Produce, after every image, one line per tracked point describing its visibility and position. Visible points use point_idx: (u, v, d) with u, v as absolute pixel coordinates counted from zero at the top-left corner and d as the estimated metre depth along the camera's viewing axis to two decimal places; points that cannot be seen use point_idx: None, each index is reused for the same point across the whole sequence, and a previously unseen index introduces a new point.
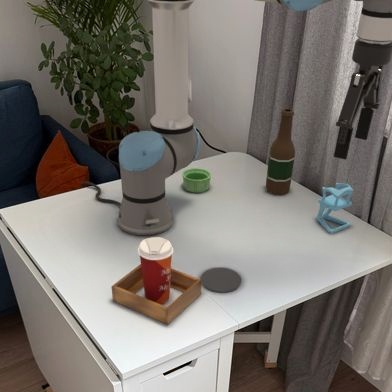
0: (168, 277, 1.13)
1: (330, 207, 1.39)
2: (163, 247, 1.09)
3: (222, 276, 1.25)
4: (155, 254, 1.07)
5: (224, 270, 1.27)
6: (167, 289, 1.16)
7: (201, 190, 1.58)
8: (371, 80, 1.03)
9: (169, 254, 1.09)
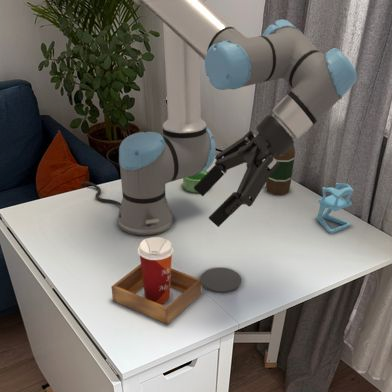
0: (168, 277, 1.13)
1: (330, 207, 1.39)
2: (163, 247, 1.09)
3: (222, 276, 1.25)
4: (155, 254, 1.07)
5: (224, 270, 1.27)
6: (167, 289, 1.16)
7: None
8: None
9: (169, 254, 1.09)
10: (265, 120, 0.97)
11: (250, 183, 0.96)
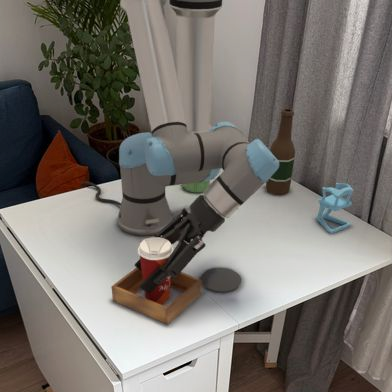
0: (168, 277, 1.13)
1: (330, 207, 1.39)
2: (163, 247, 1.09)
3: (222, 276, 1.25)
4: (155, 254, 1.07)
5: (224, 270, 1.27)
6: (167, 289, 1.16)
7: (201, 190, 1.58)
8: None
9: (169, 254, 1.09)
10: (196, 201, 1.05)
11: (176, 259, 1.06)
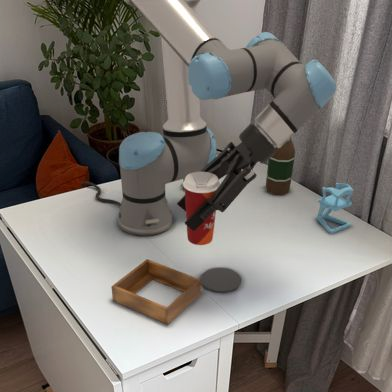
0: (213, 214, 1.08)
1: (330, 207, 1.39)
2: (210, 180, 1.04)
3: (222, 276, 1.25)
4: (202, 186, 1.02)
5: (224, 270, 1.27)
6: (211, 228, 1.10)
7: None
8: None
9: (216, 187, 1.04)
10: (247, 129, 1.00)
11: (225, 191, 1.00)
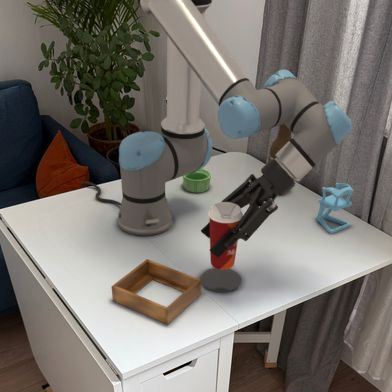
0: (236, 242, 1.15)
1: (330, 207, 1.39)
2: (234, 211, 1.11)
3: (222, 276, 1.25)
4: (227, 217, 1.09)
5: (224, 270, 1.27)
6: (234, 254, 1.17)
7: (201, 190, 1.58)
8: None
9: (240, 218, 1.11)
10: (269, 164, 1.07)
11: (248, 222, 1.08)
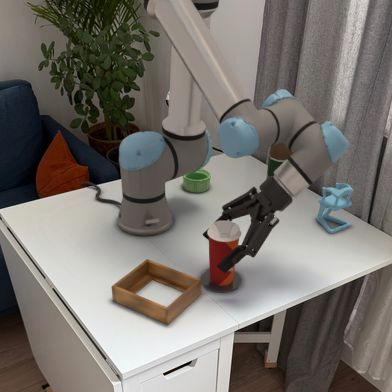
0: None
1: (330, 207, 1.39)
2: (232, 229, 1.14)
3: None
4: (226, 236, 1.12)
5: None
6: (232, 271, 1.21)
7: (201, 190, 1.58)
8: None
9: (238, 236, 1.14)
10: (267, 181, 1.09)
11: (254, 237, 1.08)
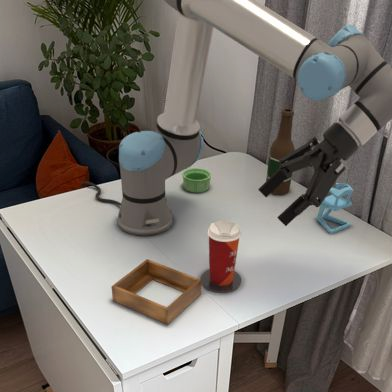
0: (234, 259, 1.18)
1: (330, 207, 1.39)
2: (232, 229, 1.14)
3: None
4: (226, 236, 1.12)
5: None
6: (232, 271, 1.21)
7: (201, 190, 1.58)
8: None
9: (238, 236, 1.14)
10: (332, 127, 1.05)
11: (319, 186, 1.04)
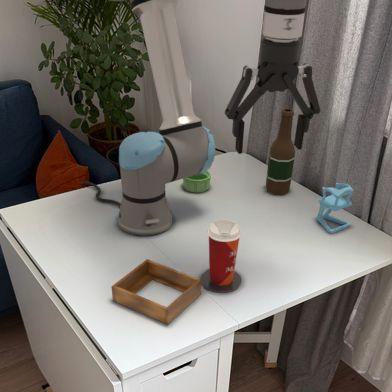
0: (234, 259, 1.18)
1: (330, 207, 1.39)
2: (232, 229, 1.14)
3: None
4: (226, 236, 1.12)
5: None
6: (232, 271, 1.21)
7: (201, 190, 1.58)
8: (269, 78, 1.00)
9: (238, 236, 1.14)
10: None
11: None
